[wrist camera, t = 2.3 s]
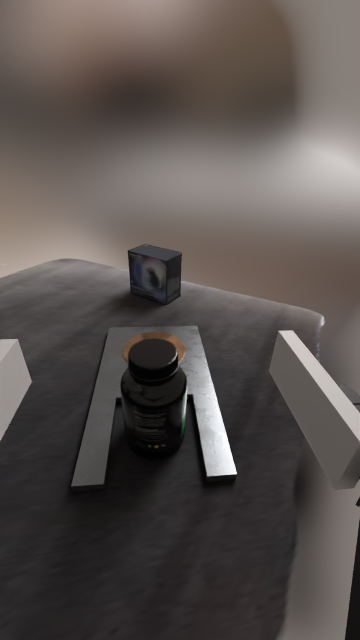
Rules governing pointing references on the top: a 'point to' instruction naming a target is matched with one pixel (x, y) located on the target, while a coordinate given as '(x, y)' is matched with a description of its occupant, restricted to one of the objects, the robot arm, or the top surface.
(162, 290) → the small box
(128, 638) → the top surface
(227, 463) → the rail plate
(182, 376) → the supplement bottle
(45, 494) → the top surface
